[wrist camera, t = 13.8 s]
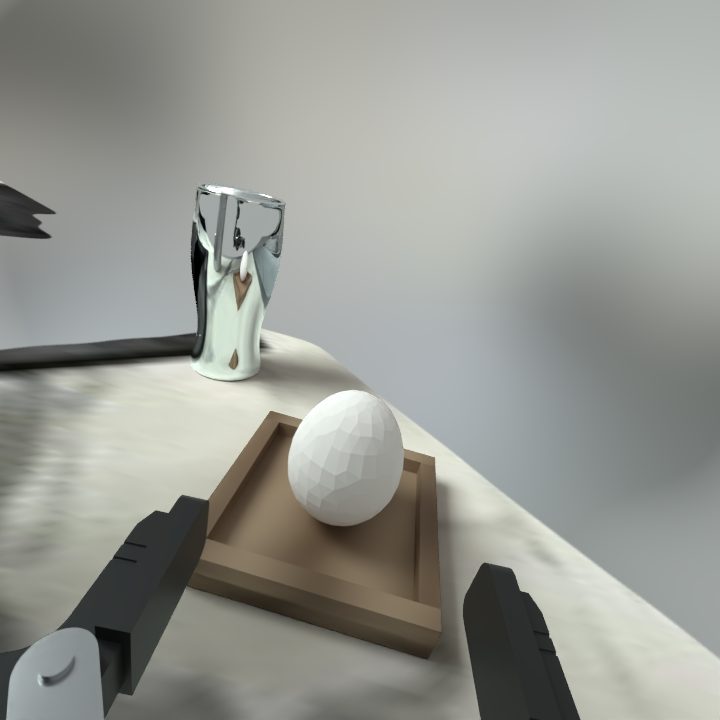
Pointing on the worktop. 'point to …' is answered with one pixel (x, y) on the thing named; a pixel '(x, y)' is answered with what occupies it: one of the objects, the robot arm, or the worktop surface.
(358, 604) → the walnut tray
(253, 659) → the worktop surface
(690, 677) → the worktop surface
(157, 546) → the robot arm
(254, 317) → the beer glass
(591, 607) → the worktop surface
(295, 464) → the egg
